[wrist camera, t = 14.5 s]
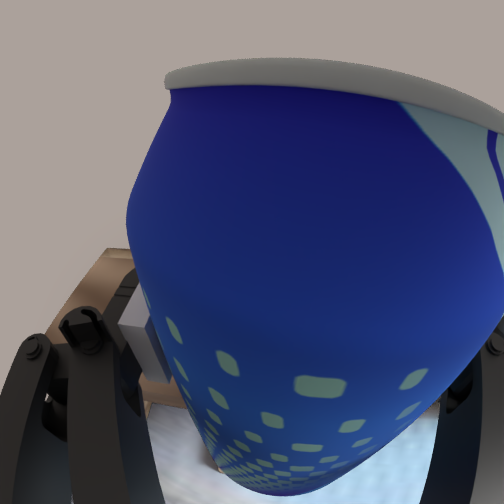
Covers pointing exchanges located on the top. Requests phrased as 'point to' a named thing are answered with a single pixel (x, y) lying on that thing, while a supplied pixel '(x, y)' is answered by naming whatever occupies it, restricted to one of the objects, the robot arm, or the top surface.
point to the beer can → (316, 256)
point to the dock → (98, 296)
